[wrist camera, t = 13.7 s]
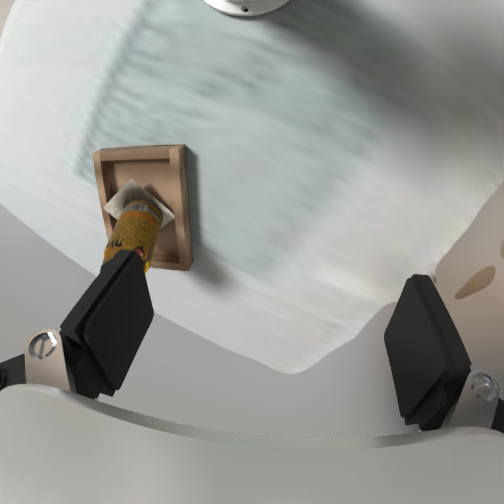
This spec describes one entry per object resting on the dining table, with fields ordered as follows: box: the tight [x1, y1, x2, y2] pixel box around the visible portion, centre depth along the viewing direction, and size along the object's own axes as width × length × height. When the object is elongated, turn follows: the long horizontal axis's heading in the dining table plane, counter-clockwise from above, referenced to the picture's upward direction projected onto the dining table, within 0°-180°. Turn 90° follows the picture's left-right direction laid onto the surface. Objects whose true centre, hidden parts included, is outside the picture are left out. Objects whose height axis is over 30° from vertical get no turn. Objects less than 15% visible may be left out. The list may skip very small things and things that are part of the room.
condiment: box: [100, 179, 175, 273], centre depth 35 cm, size 7×8×12 cm
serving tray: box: [93, 145, 193, 271], centre depth 39 cm, size 18×13×2 cm
